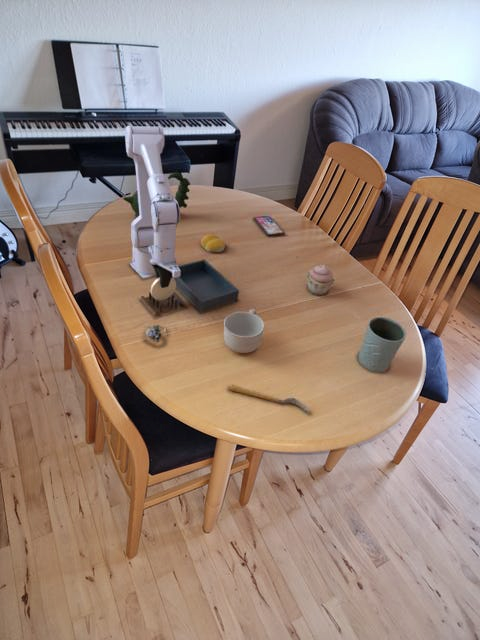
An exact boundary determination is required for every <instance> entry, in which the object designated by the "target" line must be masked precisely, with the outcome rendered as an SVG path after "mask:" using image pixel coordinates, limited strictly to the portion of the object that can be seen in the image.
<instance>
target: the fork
mask: <svg viewBox="0 0 480 640" xmlns="http://www.w3.org/2000/svg"><path fill="white" fill-rule="evenodd" d="M229 390H230V391H232V392H235V393H239V394H244V395H248V396H251V397H256V398H259V399H264V400H268V401H272V402H276V403H282V404H283V403H291V404H295V405H296V406H298V407H300V408H301V409H302V410H304V411H305V412H306V413H309V412H310V408H309V407H308V406H306V405H305V404H304V403H303V402H302V401H300V400H299V399H298V398H296V397H292V396H290V397H287V398H285V399H280V398H279V397H275V396H271V395H268V394H264V393H261V392H258V391H254V390H250V389H248V388H245V387H241V386H237V385H234V384H231V385H230V386H229Z"/></svg>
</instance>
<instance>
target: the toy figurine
mask: <svg viewBox="0 0 480 640" xmlns="http://www.w3.org/2000/svg"><path fill="white" fill-rule="evenodd" d="M167 178H168V180H170V179H176V180H177V181H179V184H178V186H177V191H176V193H175V196H174V197H175V199H176V200H177V202H178V205H179V210H180V209H181V208H187V207H188V203H186V201H188V200H189V199H190V197H189V196H188V193H189V192H190V189H189V186H191V182H190V181H189V179H188V178H187V177H184V175H183V174H181V173H180V172H175V171H174V172H172V173H171V174H169V175H168V177H167ZM122 199H123V200H124V201H125V202H127V203H128V204H130V207H131V209H132V211H133V212H134V216H135V219H136V218H137V217H138V216H139V203H138V192H137V191H136V192H134V193H133V194H132V195H131V196H125V197H122ZM185 200H186V201H185Z"/></svg>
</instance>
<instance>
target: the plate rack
mask: <svg viewBox="0 0 480 640" xmlns="http://www.w3.org/2000/svg"><path fill="white" fill-rule="evenodd" d="M140 300H141V301H142V302H143V304H144V305H145V306H146V307H147V308H148V310H149V311H150V312H151V313H152V315H153V316H155V317H158V316H161V315H163V314H166V313H170V312H172V311H177V310H179V309H182V308H185V307H186V302H185V301H184V300H183V299H182V298H181V297H180V296H179V295H178V294H177V293H176V292H175V291H174V293H173V294H172V295H171V296H170V297H169V298H167V299H165V300H156V299H154V298H153V297H152V295H151V292H150V291H149V292H148V296H147V297H145V296H144V295H142V296H140Z"/></svg>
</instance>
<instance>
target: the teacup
mask: <svg viewBox="0 0 480 640" xmlns="http://www.w3.org/2000/svg"><path fill="white" fill-rule="evenodd" d="M264 330H265V322H264V320H263V319H262V318H261V317H260V316H259V315H257V310H256V309H254V308H251V309H250V310H249V311H235V312H232V313H230V314H228V315H227V316H226V317H225V318H224V320H223V340H224V343H225V345H226V346H227V347H228V348H229V350H232V351H234V352H236V353H238V354H239V353H241V354H246V353H251V352H254V351H255V350H257V349H258V348H259V347H260V345H261V343H262V340H263V334H264Z"/></svg>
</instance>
